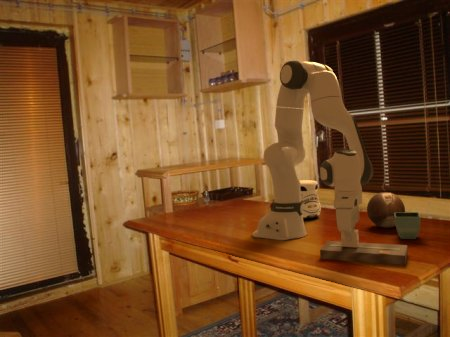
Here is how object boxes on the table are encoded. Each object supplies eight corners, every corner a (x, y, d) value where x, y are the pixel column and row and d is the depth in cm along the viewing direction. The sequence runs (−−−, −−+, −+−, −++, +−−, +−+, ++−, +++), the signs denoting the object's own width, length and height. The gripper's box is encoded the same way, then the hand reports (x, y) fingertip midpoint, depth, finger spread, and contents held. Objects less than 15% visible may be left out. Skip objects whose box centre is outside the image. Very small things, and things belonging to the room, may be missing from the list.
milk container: (315, 222, 192) (313, 184, 191) (280, 220, 201) (278, 184, 199) (325, 215, 207) (323, 179, 206) (293, 213, 216) (291, 180, 214)
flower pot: (395, 240, 153) (394, 216, 152) (394, 234, 161) (393, 212, 160) (421, 241, 149) (420, 216, 149) (419, 235, 158) (418, 212, 157)
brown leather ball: (379, 232, 165) (377, 196, 164) (361, 225, 180) (359, 191, 179) (413, 229, 167) (412, 193, 166) (392, 222, 182) (391, 188, 181)
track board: (320, 258, 136) (320, 249, 136) (328, 249, 147) (328, 240, 147) (405, 265, 124) (405, 255, 124) (407, 254, 135) (407, 244, 135)
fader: (341, 246, 137) (340, 231, 136) (343, 243, 140) (343, 229, 140) (357, 247, 134) (356, 232, 134) (358, 244, 138) (358, 229, 138)
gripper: (344, 193, 147) (346, 231, 148) (332, 203, 129) (334, 246, 130) (362, 193, 144) (364, 232, 145) (352, 203, 126) (354, 247, 127)
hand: (350, 239), depth 137 cm, fingers closed on fader, 4 cm apart
